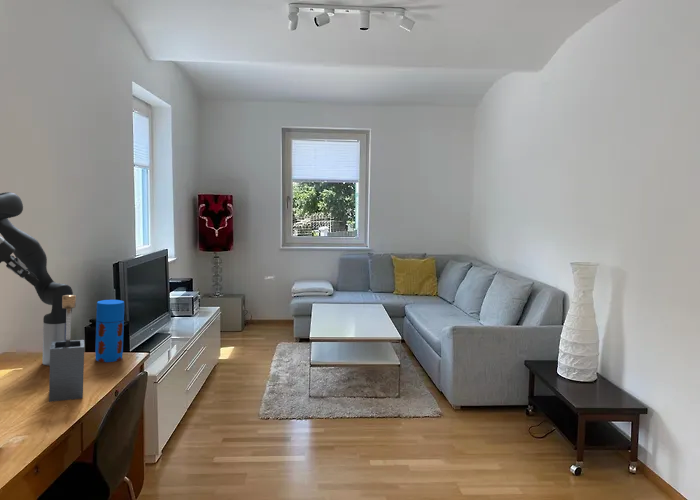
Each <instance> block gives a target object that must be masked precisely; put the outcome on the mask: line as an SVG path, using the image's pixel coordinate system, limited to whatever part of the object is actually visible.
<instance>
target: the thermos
mask: <svg viewBox="0 0 700 500" xmlns="http://www.w3.org/2000/svg"><path fill="white" fill-rule="evenodd" d="M95 316H96V317H95V318H96V319H95V349H94V350H95V354H94V355H95V361H97V362H99V363H111V362H112V363H114V362H118V361H121V360H122V359H123V354H124V334H125V333H124V331H125V330H124V328H125V327H124V326H125V324H124V323H125V301H124V300H122V299H121V300H120V299H103V300H98V301H97V302H96V315H95Z"/></svg>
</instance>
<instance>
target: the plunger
mask: <svg viewBox="0 0 700 500" xmlns="http://www.w3.org/2000/svg"><path fill="white" fill-rule="evenodd" d="M76 297H77V295H76V294H73V295H64V296H62V308H66V346H65V347H70V341H71V332H72V331H71V325H72V313H71V308H72V309H75V308H76V304H77V303H76V301H77V298H76Z"/></svg>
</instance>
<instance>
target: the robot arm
mask: <svg viewBox="0 0 700 500" xmlns="http://www.w3.org/2000/svg"><path fill="white" fill-rule="evenodd" d="M23 205H24V204H23V200H22V199H21V197H20V196H19V195H17V193H14V192H10V191H6V192H5V191H4V192H1V193H0V264H1V263H5V266H6V268H7V269H8V270H10V271H12V272H13V274H15V275H17V276H18V277H19V278H21V279H25V281H27V282H28V283H29V284H30V285H32V286H33V287H34V288H35V289H34V290H35V291H36V294H37V296H38V298H39V299H40V301H41V302H42V303H44V304H46V305H49V306H51V310H50V312H49V313H46V314H44V315H43V319H42V320H43V323H42V325H43V326H42V328H43V329H42V365H44V366H50V348H51V343H52V342H54V341H66V308H62V296H64V295H74V292H73V288H72V287H71V286H70V285H69V284H66V283H60V282H56V281H54V280H53V278H52V276H51V275H50V273H49V271H48V269H47V265H48V260H47V259H48V257H47V254H46V252H45V250H44V248H43V247H42V246H41V244H40V242H39V241H38V240H37V239H36V238H35V237H33V236H31V235H30V234H28V233H27V232H25V231H24V230H22V229H20V228H18V227H16V226H15V225H14V224H13V223H12V222H11V221H10V220H9V219H11V218H15V217H17V216H18V217H19V216H20V215H21V214H22V213H23V211H24V206H23ZM12 254H14V255H12ZM72 312H73V308H71V314H73V313H72Z"/></svg>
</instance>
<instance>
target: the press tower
mask: <svg viewBox="0 0 700 500" xmlns="http://www.w3.org/2000/svg"><path fill="white" fill-rule="evenodd" d="M65 346H66V341H54V342H52V343H51V348H50V365H49V381H48V382H49V385H48V386H49V387H48V388H49V389H48V402H49V403H50V402H51V403H53V402H61V401H70V399H71V400H79V399H80V400H81V399H83V398H84V373H85V372H84V369H85V340H84V339H75V340H74V339H73V340H71V339H70V347H65ZM52 401H53V402H52Z"/></svg>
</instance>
